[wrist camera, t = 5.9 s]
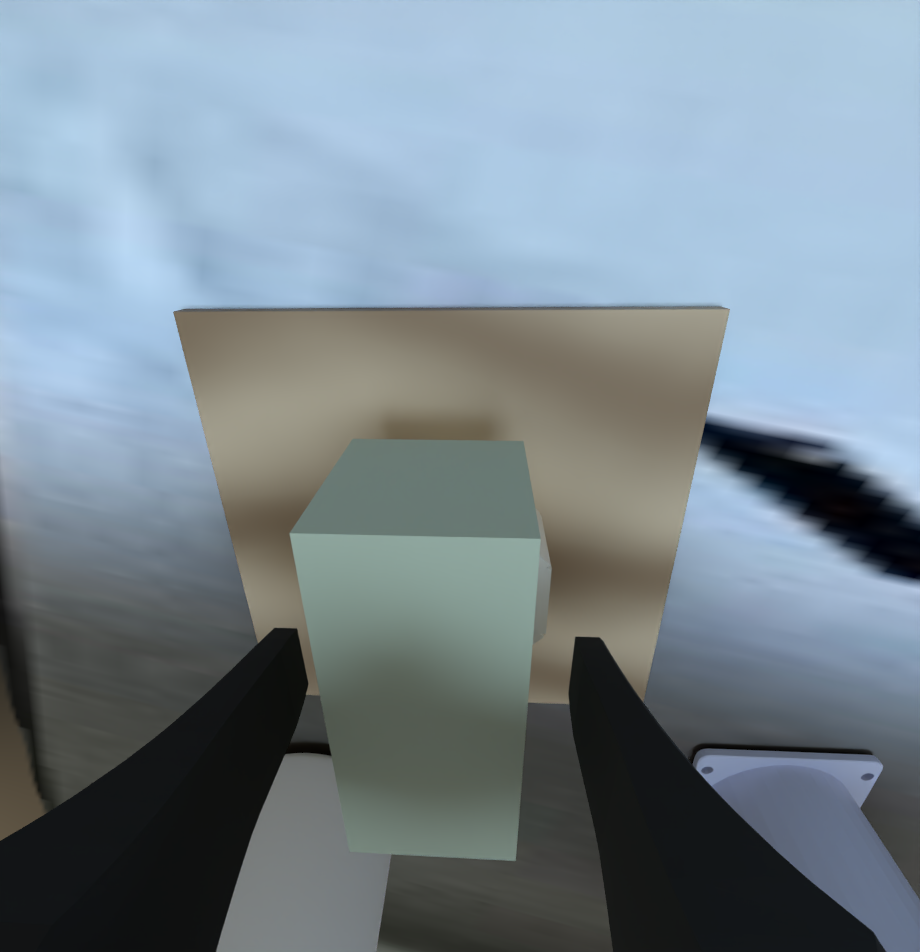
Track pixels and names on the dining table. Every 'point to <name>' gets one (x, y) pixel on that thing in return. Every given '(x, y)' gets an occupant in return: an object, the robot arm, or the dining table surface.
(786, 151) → the dining table surface
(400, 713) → the green rectangular block
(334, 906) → the beverage can
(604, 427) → the mat
